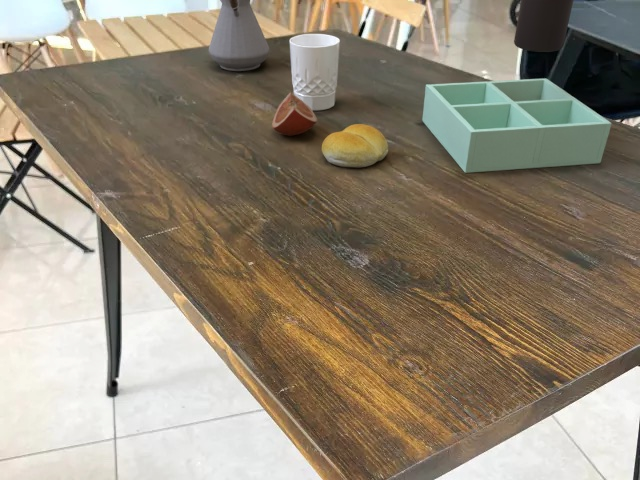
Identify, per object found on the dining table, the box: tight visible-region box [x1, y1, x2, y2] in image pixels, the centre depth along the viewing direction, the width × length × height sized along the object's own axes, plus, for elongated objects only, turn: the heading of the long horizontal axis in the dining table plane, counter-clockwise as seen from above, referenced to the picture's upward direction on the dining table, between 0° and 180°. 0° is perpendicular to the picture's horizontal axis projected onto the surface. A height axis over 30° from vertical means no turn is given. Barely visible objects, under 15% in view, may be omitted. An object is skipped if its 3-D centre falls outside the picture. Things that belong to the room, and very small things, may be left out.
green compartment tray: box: [421, 77, 613, 174], centre depth 93 cm, size 19×19×6 cm
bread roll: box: [321, 123, 389, 168], centre depth 88 cm, size 8×9×4 cm
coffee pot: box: [208, 0, 271, 72], centre depth 116 cm, size 21×12×15 cm, turn 4°
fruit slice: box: [271, 91, 318, 136], centre depth 95 cm, size 8×7×5 cm
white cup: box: [289, 33, 341, 112], centre depth 104 cm, size 8×8×10 cm
